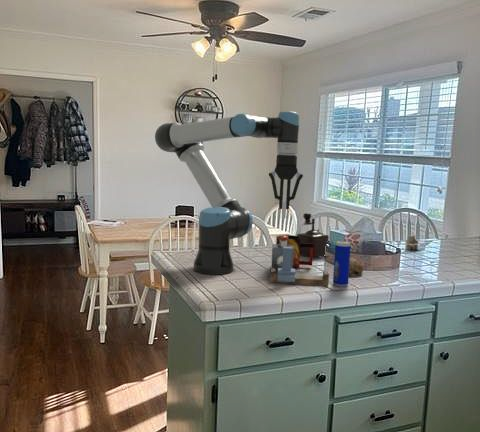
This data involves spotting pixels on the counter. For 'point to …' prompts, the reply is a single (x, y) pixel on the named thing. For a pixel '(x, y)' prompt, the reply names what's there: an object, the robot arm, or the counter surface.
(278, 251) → the grey block
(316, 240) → the manual coffee grinder
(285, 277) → the carriage
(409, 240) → the architectural model
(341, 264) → the beverage can
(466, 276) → the counter surface
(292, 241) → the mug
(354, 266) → the bread roll
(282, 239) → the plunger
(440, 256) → the counter surface
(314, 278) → the rail
